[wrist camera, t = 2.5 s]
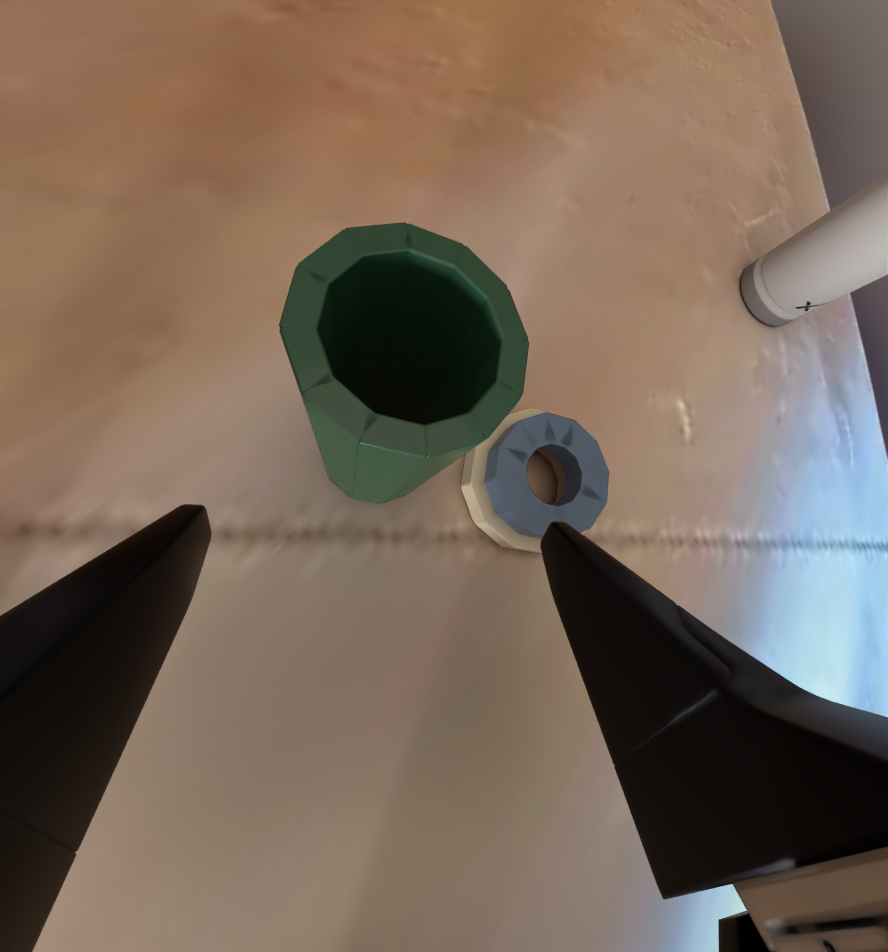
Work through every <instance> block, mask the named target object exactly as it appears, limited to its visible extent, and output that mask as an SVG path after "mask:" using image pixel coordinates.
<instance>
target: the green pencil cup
mask: <svg viewBox="0 0 888 952" xmlns="http://www.w3.org/2000/svg"><path fill="white" fill-rule="evenodd" d="M279 327H280V334H281V337H282V340H283V343H284V346H285V349H286V352H287V355H288V358H289V361H290V364H291V367H292V370H293V373H294V375H295V378H296V381H297V384H298V387H299V390H300V393H301V396H302V399H303V402H304V405H305V408H306V411H307V414H308V417H309V420H310V423H311V426H312V429H313V432H314V435H315V438H316V441H317V444H318V447H319V450H320V452H321V455H322V458H323V461H324V464H325V467H326V470H327V473H328V476H329V478H330V480H331V481H332V482H333V483H334V484H336V485H337V486H338V487H339V488H340V489H342V490H343V491H344V492H345V493H346V494H347V495H349V496H350V497H351V498H353V499H359V500H364V501H369V502H375V503H384V502H386V501H389V500H392V499H395V498H398V497H401V496H404V495H406V494H408V493H409V492H411V491H412V490H413V489H415V488H416V487H418V486H419V485H421V484H422V483H424V482H425V481H427V480H428V479H430V478H431V477H432V476H434V475H435V474H437V473H438V472H440V471H441V470H443V469H444V468H446V467H447V466H449V465H450V464H451V463H453V462H454V461H456V460H457V459H459V458H460V457H462V456H463V455H465V454H466V453H467V452H469V451H470V450H472V449H473V448H475V447H476V446H478V445H479V444H481V443H482V442H484V441H485V440H486V439H488V438H489V437H490V436H491V434H492V433H493V432H494V431H495V430H496V428H497V427H498V426H499V425H500V423H501V422H502V421H503V420H504V419H505V417H506V416H507V415H508V414H509V412H510V411H511V410H512V409H513V408H514V406H515V405H516V404H517V403H518V401H519V400H520V398H521V396H522V395H523V389H524V381H525V372H526V364H527V356H528V348H529V342H528V337H527V335H526V332H525V330H524V327H523V324H522V322H521V319H520V317H519V314H518V311H517V309H516V306H515V304H514V301H513V299H512V296H511V293H510V291H509V290H508V289H507V285H506V284H505V283H504V282H503V281H502V280H501V279H500V278H499V277H498V276H497V275H495V274H494V273H493V272H492V271H491V270H490V269H489V268H488V267H487V266H486V265H485V264H484V263H483V262H482V261H481V260H480V259H479V258H478V257H477V256H476V255H475V254H474V253H473V252H472V251H471V250H470V249H469V248H468V247H467V246H464V245H463V244H462V243H459V242H456V241H454V240H451V239H448V238H446V237H443V236H440V235H438V234H435V233H433V232H430V231H427V230H425V229H422V228H419V227H417V226H414V225H411V224H406V223H405V222H404V223H393V224H383V225H372V226H362V227H351V228H346V229H344V230H342V231H341V232H339V233H338V234H337V235H335V236H334V237H333V238H332V239H330V240H329V241H328V242H326V243H325V244H324V245H322V246H321V247H320V248H318V249H317V250H316V251H314V252H313V253H312V254H310V255H309V256H308V257H307V258H305V259H304V260H303V261H301V262H300V263H299V264H298V266H297V267H296V268H295V272H294V275H293V278H292V282H291V285H290V289H289V292H288V296H287V299H286V303H285V306H284V310H283V313H282V316H281V320H280V323H279Z"/></svg>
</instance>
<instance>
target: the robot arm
mask: <svg viewBox="0 0 888 952" xmlns="http://www.w3.org/2000/svg"><path fill="white" fill-rule="evenodd" d="M210 540H211V528H210V523H209V519H208V515H207V510H206V508H205V507H204V506H203V505H192V504H184V505H181V506H179V507H178V508H176V509H174V510H173V511H171V512H170V513H168V514H166V515H165V516H163V517H161V518H160V519H158V520H156V521H155V522H153V523H152V524H150V525H148V526H147V527H145V528H143V529H142V530H140V531H138V532H137V533H135V534H134V535H132V536H130V537H129V538H127V539H125V540H124V541H122V542H120V543H119V544H117V545H116V546H114V547H112V548H111V549H109V550H107V551H106V552H104V553H102V554H101V555H99V556H98V557H96V558H94V559H93V560H91V561H89V562H88V563H86V564H84V565H83V566H81V567H80V568H78V569H76V570H75V571H73V572H71V573H70V574H68V575H66V576H65V577H63V578H62V579H60V580H58V581H57V582H55V583H53V584H52V585H50V586H48V587H47V588H45V589H44V590H42V591H40V592H39V593H37V594H35V595H34V596H32V597H30V598H29V599H27V600H26V601H24V602H22V603H21V604H19V605H17V606H16V607H14V608H12V609H11V610H9V611H8V612H6V613H4V614H3V615H1V616H0V952H32V951H33V949H34V947H35V944H36V942H37V940H38V938H39V936H40V933H41V931H42V929H43V927H44V925H45V922H46V920H47V918H48V916H49V914H50V911H51V909H52V907H53V905H54V903H55V900H56V898H57V896H58V894H59V892H60V889H61V887H62V885H63V883H64V881H65V878H66V876H67V874H68V872H69V870H70V867H71V865H72V863H73V861H74V859H75V856H76V853H75V852H76V851H77V850H78V849H79V847H80V845H81V843H82V840H83V838H84V836H85V834H86V832H87V829H88V827H89V825H90V823H91V821H92V818H93V816H94V814H95V812H96V810H97V807H98V805H99V803H100V801H101V799H102V796H103V794H104V792H105V790H106V788H107V785H108V783H109V781H110V779H111V777H112V774H113V772H114V770H115V768H116V766H117V763H118V761H119V759H120V757H121V755H122V752H123V750H124V748H125V746H126V744H127V741H128V739H129V737H130V735H131V733H132V730H133V728H134V726H135V724H136V722H137V719H138V717H139V715H140V713H141V711H142V708H143V706H144V704H145V702H146V700H147V697H148V695H149V693H150V691H151V689H152V686H153V684H154V682H155V680H156V678H157V675H158V673H159V671H160V669H161V667H162V664H163V662H164V660H165V658H166V656H167V653H168V651H169V649H170V647H171V645H172V642H173V640H174V638H175V636H176V634H177V631H178V629H179V627H180V625H181V623H182V620H183V618H184V616H185V614H186V612H187V609H188V607H189V605H190V602H191V600H192V597H193V594H194V591H195V588H196V585H197V582H198V578H199V575H200V572H201V569H202V566H203V562H204V559H205V556H206V553H207V550H208V546H209V543H210ZM540 548H541V552H542V556H543V560H544V564H545V568H546V572H547V576H548V580H549V584H550V588H551V592H552V595H553V598H554V601H555V604H556V607H557V610H558V612H559V615H560V618H561V621H562V623H563V626H564V629H565V632H566V634H567V637H568V640H569V643H570V646H571V648H572V651H573V654H574V657H575V659H576V662H577V665H578V668H579V670H580V673H581V676H582V679H583V681H584V684H585V687H586V690H587V692H588V695H589V698H590V701H591V703H592V706H593V709H594V712H595V714H596V717H597V720H598V723H599V725H600V728H601V731H602V734H603V737H604V739H605V742H606V745H607V748H608V750H609V753H610V756H611V759H612V761H613V764H614V765H615V766H614V767H615V770H616V773H617V776H618V778H619V781H620V784H621V787H622V789H623V792H624V795H625V798H626V800H627V803H628V806H629V809H630V811H631V814H632V817H633V820H634V822H635V825H636V828H637V831H638V834H639V836H640V839H641V842H642V845H643V847H644V850H645V853H646V856H647V858H648V861H649V864H650V867H651V869H652V872H653V875H654V878H655V880H656V883H657V886H658V888H659V891H660V893H661V895H662V897H663V899H669V898H673V897H678V896H682V895H686V894H690V893H695V892H699V891H703V890H707V889H712V888H716V887H720V886H724V885H729V884H733V886H734V887H735V889H736V891H737V893H738V895H739V897H740V898H741V900H742V902H743V904H744V906H745V908H746V910H747V911H744V912H741V913H738V914H735V915H732V916H729V917H726V918H723V919H719V952H888V717H885V716H881V715H878V714H874V713H871V712H867V711H864V710H860V709H857V708H853V707H849V706H846V705H842V704H839V703H836V702H832V701H829V700H827V699H824V698H821V697H819V696H816V695H814V694H812V693H810V692H808V691H806V690H804V689H802V688H800V687H798V686H797V685H795V684H793V683H792V682H790V681H789V680H787V679H786V678H784V677H783V676H781V675H780V674H778V673H776V672H775V671H773V670H772V669H770V668H769V667H767V666H766V665H764V664H763V663H761V662H760V661H758V660H757V659H755V658H754V657H752V656H751V655H749V654H748V653H746V652H745V651H743V650H742V649H740V648H739V647H737V646H736V645H734V644H733V643H731V642H730V641H728V640H727V639H725V638H724V637H722V636H721V635H720V634H718V633H717V632H715V631H714V630H712V629H711V628H709V627H708V626H707V625H705V624H704V623H702V622H701V621H700V620H698V619H697V618H695V617H694V616H693V615H691V614H690V613H689V612H687V611H686V610H684V609H683V608H682V607H680V606H679V605H676V603H675V602H674V601H672V600H671V599H669V598H668V597H667V596H665V595H664V594H663V593H661V592H660V591H659V590H657V589H656V588H654V587H653V586H652V585H650V584H649V583H648V582H646V581H645V580H644V579H642V578H641V577H640V576H638V575H637V574H635V573H634V572H633V571H631V570H630V569H629V568H627V567H626V566H625V565H623V564H622V563H621V562H619V561H618V560H616V559H615V558H614V557H612V556H611V555H610V554H608V553H607V552H606V551H604V550H603V549H601V548H600V547H599V546H597V545H596V544H595V543H593V542H592V541H591V540H589V539H588V538H587V537H585V536H584V535H582V534H581V533H580V532H578V531H577V530H576V529H574V528H573V527H572V526H570V525H569V524H568V523H566V522H559V521H553V522H551V523H550V524H549V526H548V528H547V530H546V532H545V534H544V536H543V537H542V540H541V543H540Z"/></svg>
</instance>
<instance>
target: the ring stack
mask: <svg viewBox="0 0 888 952" xmlns="http://www.w3.org/2000/svg"><path fill="white" fill-rule="evenodd" d="M535 450H536V451H539V452H540V453H541V454H542V455H543V456H544V457H545V458H546V459H547V460H548V461H549V462H550V463H551V464H552V466H553V469H554V472H555V474H556V477H557V480H558V487H557V498H556V500H555V502H554V503H553V505H551V504H546V503H544V502H543V501H542V500H540V499H539V498H538V497H537V496H536V495H535V494H534V493H533V492H532V491H531V488H530V485H529V483H528V480H527V477H526V473H527V464H528V459H529V458H530V457H531V455H532V454H533V453H534V451H535ZM608 479H609V470H608V468H607V465H606V463H605V460H604V458H603V455H602V452H601V450H600V447H599V445H598V442H597V441H596V440H595V439H594V438H593V437H592V436H591V435H590V434H589V433H588V432H587V431H586V430H585V429H584V428H583V427H582V426H580V425H579V424H578V423H577V422H576V421H575V420H573V419H569V418H565V417H562V416H558V415H555V414H551V413H547V412H544V411H540V410H536V409H533V408H528V409H525V410H522V411H518V412H515V413H512V414H508V415H507V416H506V417H505V419H504V420H503V421H502V422H501V423H500V425H499V426H498V427H497V428H496V430H495V431H494V432H493V433H492V434H491V436H490V437H489V438H488V439H486V440H485V441H484V442H482V443H481V444H479V445H478V446H476V447H475V448H473V449H472V450H470V451H469V452H467V453H466V456H465V462H464V469H463V475H462V482H461V489H462V492H463V494H464V497H465V500H466V503H467V505H468V508H469V511H470V514H471V516H472V519H473V522H474V523H475V524H476V525H477V526H478V527H479V528H480V529H482V530H483V531H484V532H485V533H486V534H487V535H488V536H489V537H491V538H492V539H493V540H494V541H495V542H496V543H497V544H499V545H500V546H501V547H504V548H510V549H515V550H521V551H527V552H533V553H542V552H541V548H540V543H541V540H542V537H543V536H544V534H545V532H546V530H547V528H548V526H549V524H550V523H551V522H553V521H559V522H566V523H568V524H569V525H570V526H572V527H573V528H574V529H576V530H577V531H578V532H580V533H581V534H582V535H584V534H585V532H586V531H587V530H588V529H590V528H591V527H592V525H593V524H594V522H595V521H596V519H597V517H598V516H599V514H600V513H601V511H602V509H603V508H604V506H605V505H606V503H607V495H608Z"/></svg>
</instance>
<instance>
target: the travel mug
mask: <svg viewBox="0 0 888 952" xmlns="http://www.w3.org/2000/svg"><path fill="white" fill-rule="evenodd" d="M887 274H888V173H886V174H885V175H883V176H882V177H881V178H879V179H877V180H876V181H874V182H873V183H871V184H870V185H868V186H867V187H865V188H864V189H862V190H861V191H859V192H858V193H857V194H855V195H854V196H852V197H850V198H849V199H847V200H846V201H845V202H843V203H842V204H840V205H839V206H837V207H836V208H834V209H833V210H831V211H830V212H828V213H827V214H825V215H824V216H822V217H821V218H819V219H818V220H816V221H815V222H813V223H812V224H810V225H809V226H807V227H806V228H804V229H803V230H801V231H800V232H798V233H797V234H795V235H794V236H792V237H791V238H789V239H788V240H786V241H785V242H783V243H782V244H780V245H779V246H777V247H776V248H775V249H773V250H772V251H770V252H769V253H768V254H766V255H764V256H763V257H761V258H760V259H758V260H757V261H755V262H754V263H752V264H751V265H749V266H748V267H747V268H746V269H745V271H744V272H743V275H742V279H741V291H742V295H743V298H744V301H745V303H746V305H747V307H748V308H749V310H750V311H751V312H752V313H753V315H754V316H755V317H757V318H758V319H759V320H761V321H762V322H764V323H766V324H768V325H772V326H781V325H783V324H786V323H788V322H790V321H792V320H794V319H796V318H798V317H800V316H802V315H803V314H806V313H809V312H811V311H813V310H815V309H817V308H819V307H821V306H823V305H825V304H827V303H829V302H831V301H833V300H835V299H838V298H840V297H842V296H844V295H846V294H848V293H850V292H852V291H854V290H856V289H858V288H860V287H862V286H864V285H867V284H869V283H870V282H873V281H875V280H877V279H879V278H881V277H883V276H885V275H887Z"/></svg>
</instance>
